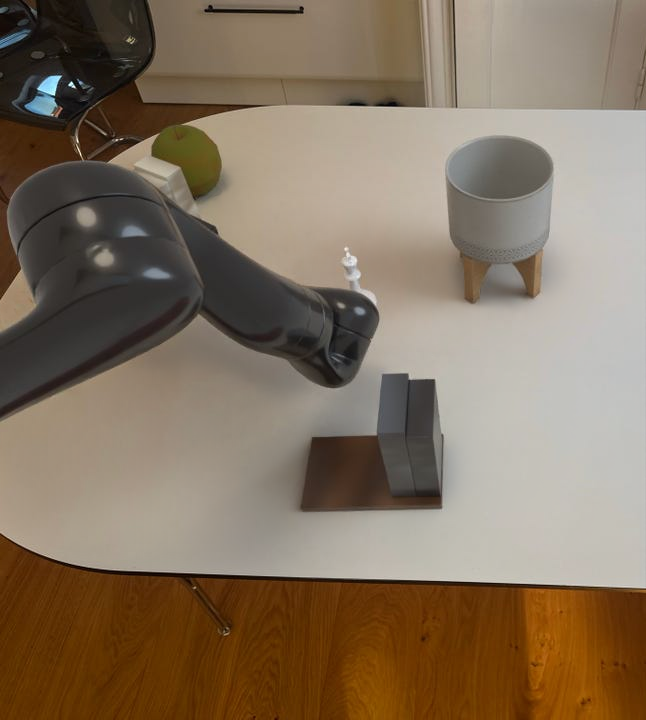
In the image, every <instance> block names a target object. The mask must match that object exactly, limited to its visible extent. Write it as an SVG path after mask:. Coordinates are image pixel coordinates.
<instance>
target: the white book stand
mask: <svg viewBox="0 0 646 720" xmlns="http://www.w3.org/2000/svg"><path fill="white" fill-rule="evenodd" d="M133 168H134V169H132V170H131V171H133V172H135V173H137V174H139V175H140V176H142V177H143V178H145V179H146V180H148V181H149V182H150V183H152V184H153V185H154V186H156V187H157V188H158V189H159V190H161V191H162V192H163V193H164V194H165V195H167V196H168V197H169V198H170V199H171V200H173V201H174V202H175V203H176V204H177V205H179V206H180V207H181V208H182V209H183V210H185V211H186V212H187V213H188V214H191V215H193V216H195V217H197V218H199V219H201V220H203V219H202V217H201V214H200V211H199V208H198V207H197V204H196V202H195V200H194V199H195V198H194V197H192V194H191V192H190V190H189V187H188V185H187V182H186V180H185V178H184V175H183V173H182V170H181V168H180V167H179V166H176V165H173V164H171V163H168V162H165V161H163V160H160V159H157V158H155V157H152V156H151V155H149V154H146V155H144V157H142V158H141V159H139V160H138V161H137V162H135V163H134V164H133Z"/></svg>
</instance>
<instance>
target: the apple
mask: <svg viewBox="0 0 646 720" xmlns="http://www.w3.org/2000/svg"><path fill="white" fill-rule="evenodd" d="M150 149H151V150H150V153H151V154H150V156H152V157H155V158H157V159H160V160H163V161H165V162H168V163H171V164H173V165H176V166H179V167H180V168H181V170H182V173H183V175H184V178H185V180H186V182H187V185H188V187H189V190H190V192H191V194H192V197H193V198H194V197H199V196H203V195H205V194H206V193H208V192H210V191H212V190H213V189H214V188H215V187H217V185H218V183H219V181H220V176H221V173H222V166H223V164H222V163H223V162H222V158H221V155H220V150H219V148H218V144H216V143H215V142H214V141H213V139H212V138H211V137H210V136H209V135H208V134H207V133H206V132H205V131H204V130H202V129H200V128H197V127H195V126H193V125H189V124H173V125H169V126H166V127H164V128H163V129H162V130H161V131H160V132H159V133H158V135H157V136H156V137H155V138H154V141H153V142H152V144H151V147H150Z"/></svg>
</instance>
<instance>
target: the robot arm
mask: <svg viewBox="0 0 646 720" xmlns="http://www.w3.org/2000/svg"><path fill="white" fill-rule="evenodd" d="M6 217H7V218H6V219H7V221H6V222H7V229H8V234H9V237H10V241H11V244H12V247H13V250H14V253H15V255H16V258H17V260H18V263H19V267H20V269H21V271H22V274H23V276H24V279H25V281H26V284H27V286H28V289H29V291H30V294H31V296H32V299H33V301H34V303H35V306H34V308H33V309H32V310H31V311H30V312H29V313H27V314H26V315H25V316H24V317H22V318H21V319H20V320H18V321H16V322H14V323H13V324H12V325H10V326H8V327H7V328H4V329H3V330H1V331H0V423H1V422H3V421H5V420H7V419H9V418H11V417H13V416H14V415H17V414H18V413H21V412H22V411H24V410H26V409H28V408H30V407H32V406H35V405H37V404H39V403H42V402H43V401H46V400H48V399H50V398H51V397H54V396H56V395H59V394H60V393H63V392H65V391H67V390H69V389H72V388H74V387H75V386H78V385H80V384H82V383H84V382H86V381H88V380H91V379H93V378H94V377H95V378H96V377H97V376H99V375H102V374H103V373H106V372H108V371H110V370H113V369H114V368H116V367H118V366H121V365H122V364H125V363H127V362H129V361H131V360H133V359H134V358H137V357H140V356H141V355H143V354H145V353H147V352H150V351H151V350H153V349H155V348H157V347H158V346H161V345H162V344H164V343H165V342H167V341H169V340H170V339H172V338H173V337H175V336H176V335H177V334H179V333H180V332H182V331H183V330H184V329H186V328H187V327H188V326H189V325H190V324H191V323H192V322H193V321H194V320H195V319H196V318H198V316H199V315H200V317H202V318H203V319H204V320H206V321H207V322H208V323H209V324H210V325H211V326H213V328H215V329H216V330H217V331H219V332H220V333H221V334H223V335H224V336H226V337H227V338H229V339H231V340H232V342H233V341H234V342H235V343H237V344H238V345H240V346H242V347H244V348H246V349H249V350H250V351H251V350H252V351H255V352H257V353H260V354H264V355H268V356H271V357H276V358H278V359H279V358H280V359H283V360H285V361H287V362H288V363H289V365H290V366H291V367H292V368H293V369H294V370H295V371H296V372H298V373H299V374H300V375H301V376H303V378H305V379H307V381H310V382H311V383H313V384H314V385H317V386H320V387H322V388H326V389H334V390H335V389H340V388H344V387H346V386H348V385H350V384H351V383H352V382H353V381H354V380H355V378H356V377H357V375H358V373H359V371H360V369H361V366H362V364H363V362H364V359H365V358H366V355H367V352H368V350H369V348H370V346H371V343H372V340H373V338H374V336H375V334H376V332H377V329H378V327H379V323H380V312H379V310H378V306H377V307H376V306H375V305H374V303H373V302H372V301H371V300H370V299H369V298H368V297H366V296H365V295H363V294H361V293H359V292H356V291H353V290H350V288H349V289H348V288H341V287H329V286H328V287H327V286H313V285H312V286H311V285H304V284H301V283H298V282H296V281H293V280H292V279H289V278H288V277H285V276H283V275H281V274H279V273H277V272H275V271H273V270H271V269H270V268H268V267H266V266H264V265H262V264H261V263H259V262H258V261H256V260H254V259H253V258H251V257H249V256H248V255H247V254H245V253H243V252H242V251H241V250H239V249H237V248H236V247H235V246H234V245H232V244H230V243H229V242H228V241H226V240H225V239H223V238H222V237H221V236H220V233H219V231H218V228H217V226H215V225H214V224H212V223H209V222H207V221H205V220H203V219H202V218H201V219H202V220H201V219H199V218H197V217H195V216H193V215H191V214H188V213H187V212H186V211H185V210H183V209H182V208H181V207H180V206H179V205H177V204H176V203H175V202H174V201H173V200H171V199H170V198H169V197H168V196H167V195H165V194H164V193H163V192H162V191H161V190H159V189H158V188H157V187H156V186H154V185H153V184H152V183H150V182H149V181H148V180H146V179H145V178H143V177H142V176H140V175H139V174H137V173H135V172H133V171H132V170H131V169H129V168H126V167H125V166H121V165H119V164H115V163H111V162H106V161H101V160H87V159H86V160H85V159H83V160H74V161H65V162H62V163H58V164H54V165H51V166H48V167H46V168H43V169H41V170H38V171H37V172H35V173H34V174H32V175H30V176H29V177H27V178H26V179H25V180H24V181H23V182H22V183H21V184H20V185H19V186H17V188H15V190H14V192H13V194H12V195H11V197H10V199H9V202H8V207H7V209H6Z"/></svg>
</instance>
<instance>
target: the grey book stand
mask: <svg viewBox="0 0 646 720" xmlns="http://www.w3.org/2000/svg"><path fill="white" fill-rule="evenodd" d="M436 383H437V382H436V379H435V378H420V379H417V378H416V379H414V378H413V379H410V377H409V373H408V372H404V373H401V372H400V373H397V372H396V373H382V374H381V383H380V392H379V404H378V405H379V406H378V413H377V423H376V424H377V425H376V435H336V436H335V435H334V436H332V435H331V436H330V435H329V436H311V441H310V445H309V446H310V447H309V453H308V459H307V465H306V470H305V476H304V483H303V484H304V485H303V489H302V496H301V501H300V506H299V507H300V510H301V512H303V513H304V512H346V511H383V510H385V511H386V510H387V511H389V510H391V511H392V510H427V509H428V510H429V509H432V510H433V509H443V492H444V491H443V490H444V449H445V448H444V445H445V443H444V442H445V437H444V433H442V427H441V418H440V410H439V402H438V393H437V385H436Z"/></svg>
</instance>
